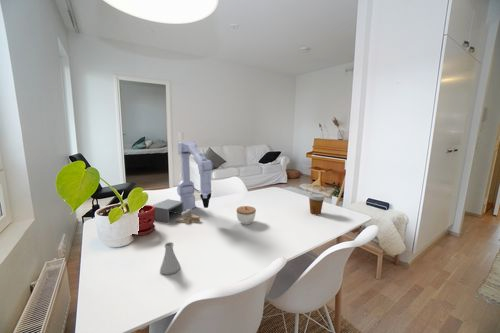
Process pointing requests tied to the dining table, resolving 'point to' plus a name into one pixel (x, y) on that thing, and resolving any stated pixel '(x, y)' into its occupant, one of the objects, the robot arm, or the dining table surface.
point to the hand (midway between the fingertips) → (206, 207)
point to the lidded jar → (246, 214)
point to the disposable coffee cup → (316, 203)
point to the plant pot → (146, 219)
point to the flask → (169, 261)
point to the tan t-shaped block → (188, 217)
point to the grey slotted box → (167, 209)
